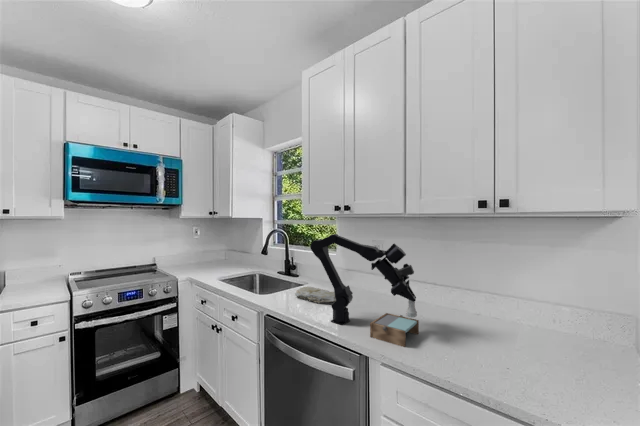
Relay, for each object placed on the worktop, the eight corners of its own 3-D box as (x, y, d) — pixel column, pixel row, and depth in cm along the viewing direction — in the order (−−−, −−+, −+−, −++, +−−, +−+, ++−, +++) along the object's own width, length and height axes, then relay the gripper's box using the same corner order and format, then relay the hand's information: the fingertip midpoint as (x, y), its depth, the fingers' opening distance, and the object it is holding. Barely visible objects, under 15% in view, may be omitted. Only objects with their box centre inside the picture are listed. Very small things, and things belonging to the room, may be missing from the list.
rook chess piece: (419, 316, 119) (419, 296, 119) (411, 318, 116) (411, 298, 116) (411, 313, 122) (411, 294, 122) (403, 314, 120) (403, 295, 120)
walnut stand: (369, 337, 114) (369, 322, 114) (387, 325, 126) (387, 311, 126) (403, 347, 105) (403, 331, 105) (419, 333, 117) (419, 319, 118)
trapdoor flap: (374, 327, 114) (374, 322, 114) (387, 318, 124) (387, 314, 124) (405, 335, 107) (405, 330, 107) (416, 325, 116) (416, 321, 116)
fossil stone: (344, 302, 161) (344, 292, 161) (327, 308, 150) (327, 298, 150) (308, 292, 179) (308, 284, 179) (291, 297, 168) (291, 288, 168)
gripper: (399, 261, 112) (429, 293, 108) (404, 255, 129) (430, 282, 125) (379, 280, 115) (407, 311, 111) (386, 271, 132) (411, 298, 128)
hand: (415, 299), depth 119 cm, fingers closed on rook chess piece, 3 cm apart
